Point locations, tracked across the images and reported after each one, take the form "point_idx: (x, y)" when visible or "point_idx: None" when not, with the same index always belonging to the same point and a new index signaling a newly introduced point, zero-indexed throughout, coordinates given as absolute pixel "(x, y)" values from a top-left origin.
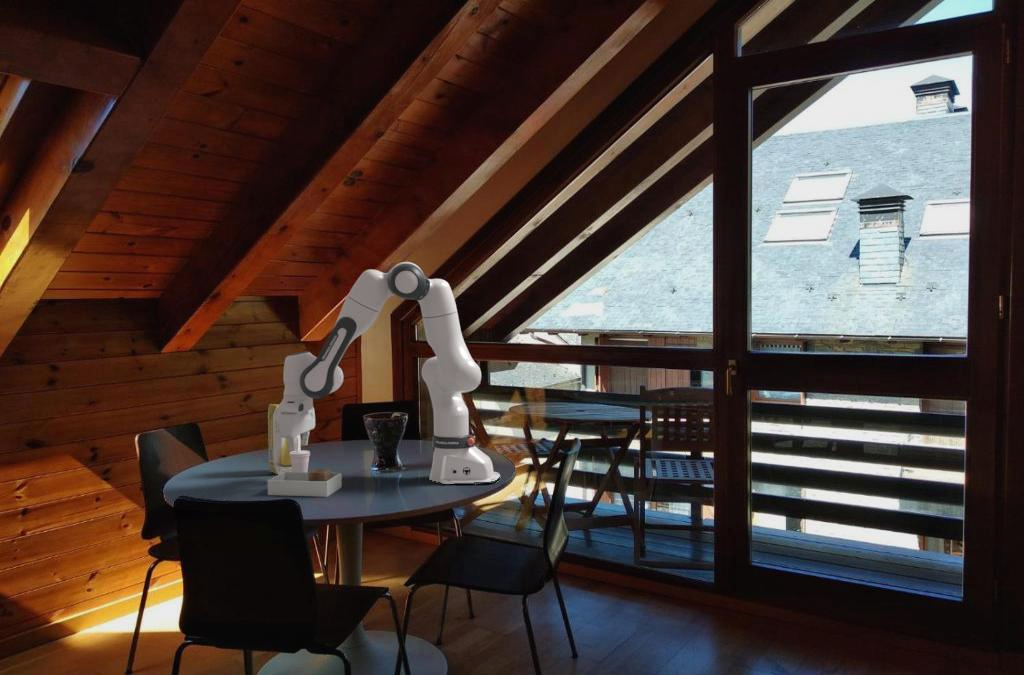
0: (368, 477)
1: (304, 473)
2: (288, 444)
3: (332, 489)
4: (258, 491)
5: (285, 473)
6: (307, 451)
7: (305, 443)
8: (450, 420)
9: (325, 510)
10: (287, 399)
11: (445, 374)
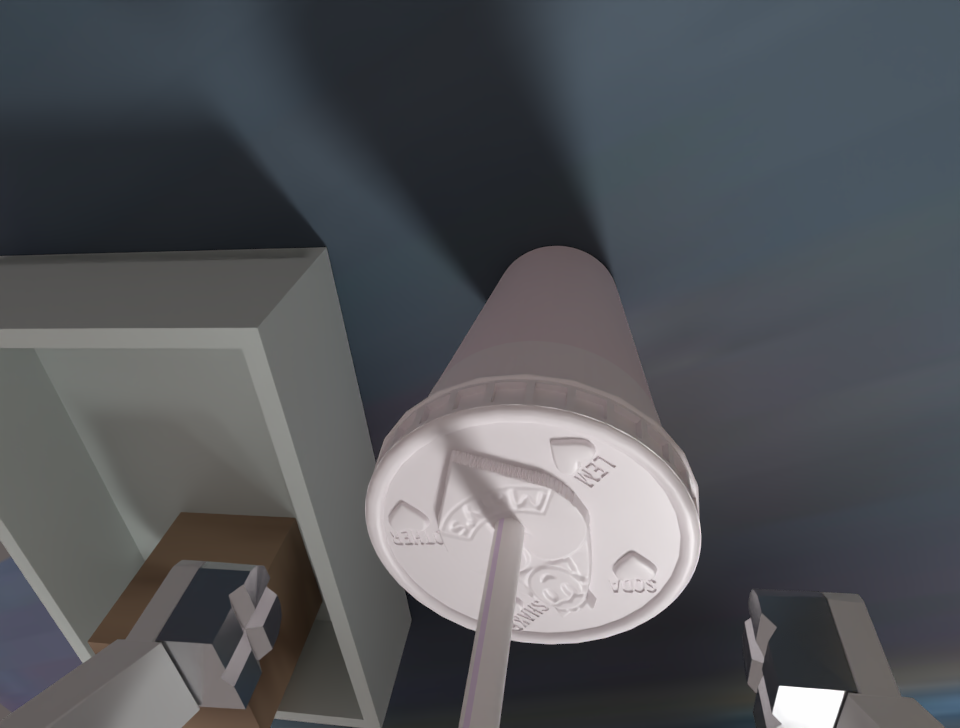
0: None
1: (300, 511)
2: (103, 651)
3: None
4: (102, 43)
5: (243, 340)
6: (625, 608)
7: (753, 678)
8: None
9: (2, 632)
10: None
11: None
